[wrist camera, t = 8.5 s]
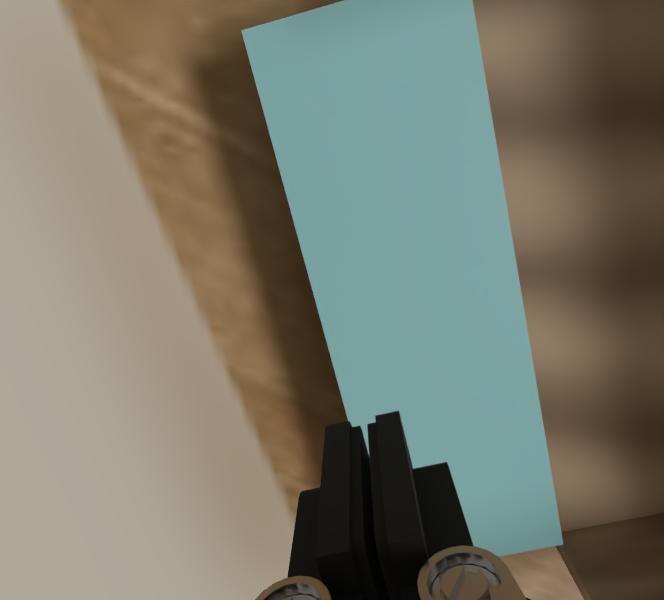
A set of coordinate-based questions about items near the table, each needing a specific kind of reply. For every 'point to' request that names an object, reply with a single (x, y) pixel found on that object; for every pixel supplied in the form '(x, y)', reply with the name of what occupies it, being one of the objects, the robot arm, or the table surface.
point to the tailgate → (412, 244)
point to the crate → (590, 264)
